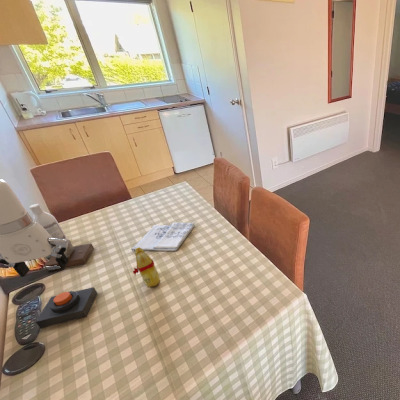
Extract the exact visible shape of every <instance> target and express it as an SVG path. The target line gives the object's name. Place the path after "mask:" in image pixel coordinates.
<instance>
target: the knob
mask: <svg viewBox="0 0 400 400" xmlns="http://www.w3.org/2000/svg"><path fill="white" fill-rule="evenodd" d="M73 246H74V245H73V244H72V242H71V240H70V239H68V248H67V249H66V251H65V252H64V254H65V255H66V257H67V258H69V257H70V255H71V254H72V252H73V251H74V247H73ZM59 248H61V246H60V245H59Z"/></svg>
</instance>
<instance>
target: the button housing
mask: <svg viewBox="0 0 400 400" xmlns="http://www.w3.org/2000/svg"><path fill="white" fill-rule="evenodd" d="M68 292H69V293H70V294H71V296H72V299H71V300H70V301H69V302H67V303H65V304H63V305H60V306H58V305H56V304H55V302H54V301H53V300H54V298H55V297H56V296H57V295H53V296H51V297H50V298H49V300H48V301H47V303H46V304H45V306H44V308H43V309H42V310H41V312H40V314H39V315H38V317H37V318H36V320H35V324H36V325H37V326H38V328H40V329H44V328H48V327H52V326H56V325H60V324H64V323H68V322H72V321H77V320H80V319H84V318H87V317H88V315H89V313H90V311H91V309H92V307H93V305H94V302H95V300H96V299H97V296H98V294H99V293H98V291H97V289H96V288H95V287H94V286H92V287H87V288H84V289H80V290H70V291H68Z"/></svg>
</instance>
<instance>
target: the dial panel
mask: <svg viewBox="0 0 400 400" xmlns="http://www.w3.org/2000/svg"><path fill="white" fill-rule="evenodd" d="M73 247H74V251H73V252H72V254H71V255H70V257H69V258H68V263H67V265H66V266H65V268H60V269H55V270H51V271H50V272H54V271H58V270H63V269H67V268H68V269H69V268H74V267H78V266H83V265H86V263H87V262H88V261H89V259H90V257H91V255H92V254H93V252H94V251H95V247H94V245H93V243H92V242H91V243H85V244H80V245H73ZM54 252H57V251H54ZM57 253H58V252H57ZM55 259H56V257H54V256H51V257H49V259H48V260H47V262H46V263H45V264H44V267H45V266H54V265H57V266H59V264H58V263H57V261H56V260H55Z"/></svg>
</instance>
